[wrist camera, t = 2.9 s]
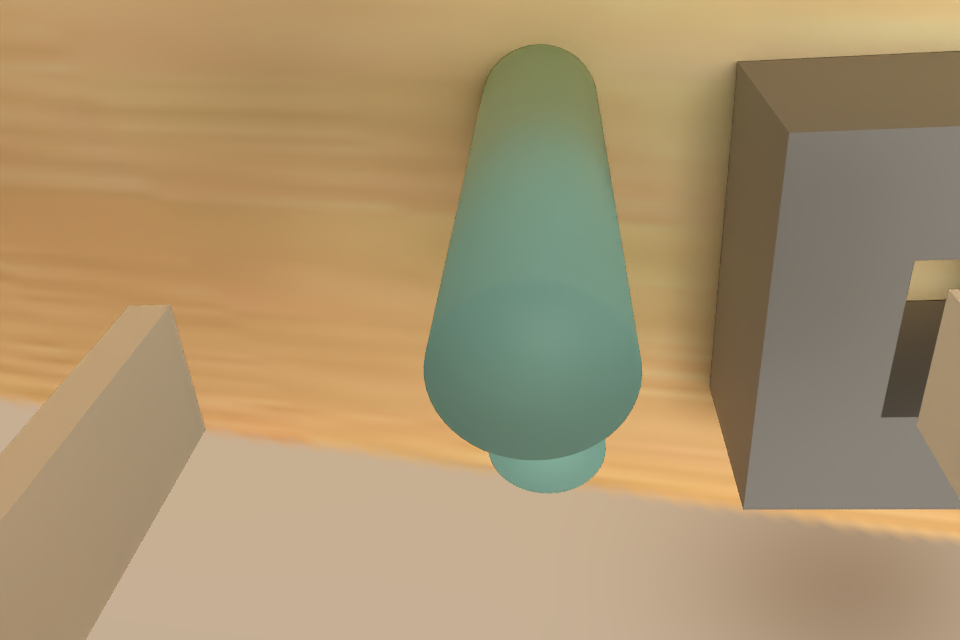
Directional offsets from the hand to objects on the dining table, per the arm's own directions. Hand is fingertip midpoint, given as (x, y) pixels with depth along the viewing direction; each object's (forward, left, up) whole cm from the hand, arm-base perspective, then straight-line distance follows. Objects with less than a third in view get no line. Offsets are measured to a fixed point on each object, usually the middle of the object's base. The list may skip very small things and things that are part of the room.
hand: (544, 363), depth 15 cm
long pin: (0, 0, -14) cm, 14 cm away
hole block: (+12, -5, -14) cm, 19 cm away
